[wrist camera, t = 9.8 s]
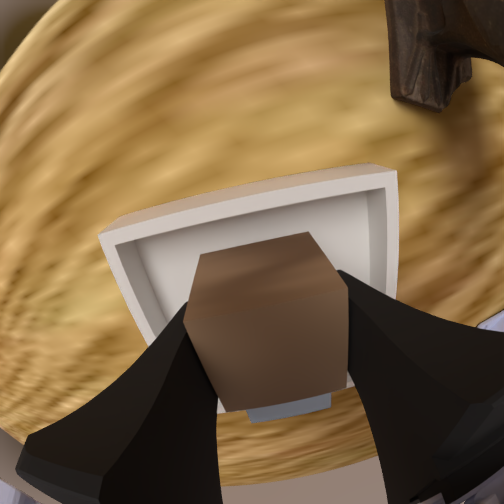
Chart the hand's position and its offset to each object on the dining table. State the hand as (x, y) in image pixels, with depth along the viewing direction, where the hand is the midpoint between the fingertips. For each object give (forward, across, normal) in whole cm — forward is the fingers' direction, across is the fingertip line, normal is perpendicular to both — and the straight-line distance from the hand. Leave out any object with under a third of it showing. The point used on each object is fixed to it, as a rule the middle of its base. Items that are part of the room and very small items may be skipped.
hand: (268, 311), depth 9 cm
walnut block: (+2, 0, 0) cm, 2 cm away
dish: (+4, 0, +2) cm, 5 cm away
